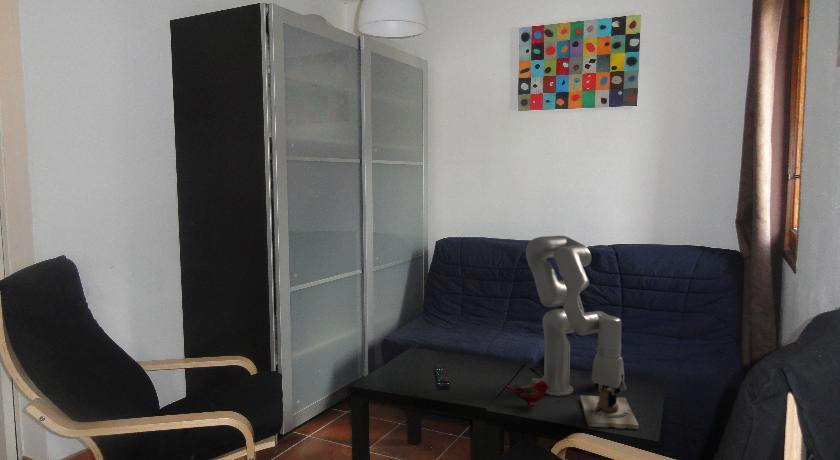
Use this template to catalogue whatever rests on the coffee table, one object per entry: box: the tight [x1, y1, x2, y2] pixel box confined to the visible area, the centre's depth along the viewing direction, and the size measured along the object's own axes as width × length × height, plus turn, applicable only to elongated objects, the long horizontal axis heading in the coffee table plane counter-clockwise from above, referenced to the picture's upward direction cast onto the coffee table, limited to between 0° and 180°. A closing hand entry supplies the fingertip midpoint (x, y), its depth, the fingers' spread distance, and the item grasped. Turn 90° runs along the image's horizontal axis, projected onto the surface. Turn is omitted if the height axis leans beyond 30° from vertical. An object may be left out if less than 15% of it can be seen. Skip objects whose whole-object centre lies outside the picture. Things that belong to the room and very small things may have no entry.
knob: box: [595, 387, 618, 412], centre depth 206 cm, size 10×7×6 cm, turn 130°
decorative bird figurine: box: [502, 381, 550, 408], centre depth 214 cm, size 3×18×10 cm, turn 62°
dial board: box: [579, 394, 640, 430], centre depth 207 cm, size 16×24×2 cm, turn 171°
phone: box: [530, 364, 544, 378], centre depth 249 cm, size 8×1×15 cm
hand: (607, 403), depth 207 cm, fingers closed on knob, 2 cm apart
